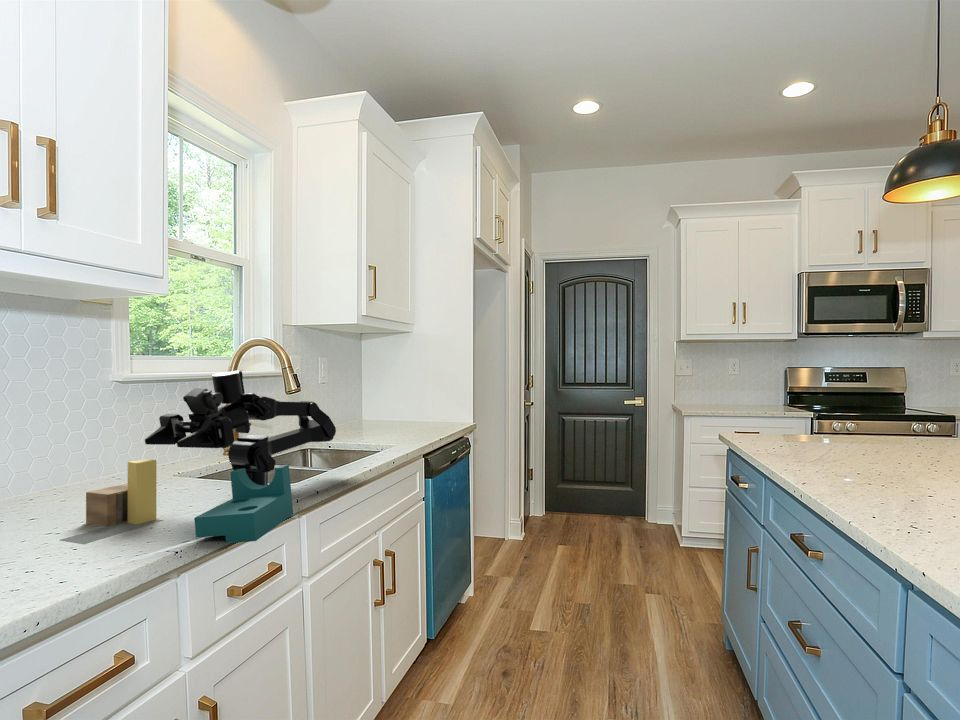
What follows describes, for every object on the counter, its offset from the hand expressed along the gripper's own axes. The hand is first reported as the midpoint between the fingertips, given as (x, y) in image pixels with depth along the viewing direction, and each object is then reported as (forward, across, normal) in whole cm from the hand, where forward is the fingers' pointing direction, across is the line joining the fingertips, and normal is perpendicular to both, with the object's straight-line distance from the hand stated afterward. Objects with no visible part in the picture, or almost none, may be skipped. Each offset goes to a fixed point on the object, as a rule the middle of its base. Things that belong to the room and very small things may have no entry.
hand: (161, 443), depth 115 cm
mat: (+11, -2, +14) cm, 18 cm away
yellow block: (+5, -3, +15) cm, 16 cm away
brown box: (+5, -9, +15) cm, 18 cm away
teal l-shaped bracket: (-1, +19, +17) cm, 25 cm away
